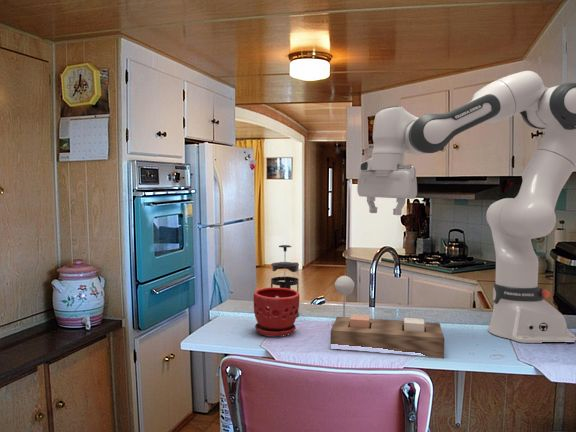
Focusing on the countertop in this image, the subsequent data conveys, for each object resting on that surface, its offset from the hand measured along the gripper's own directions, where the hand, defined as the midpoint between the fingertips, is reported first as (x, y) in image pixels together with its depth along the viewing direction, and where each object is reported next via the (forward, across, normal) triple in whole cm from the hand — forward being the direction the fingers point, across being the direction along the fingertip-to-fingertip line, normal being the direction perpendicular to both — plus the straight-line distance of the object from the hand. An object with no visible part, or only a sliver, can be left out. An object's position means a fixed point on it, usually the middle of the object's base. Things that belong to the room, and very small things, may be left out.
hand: (384, 214), depth 140 cm
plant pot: (+36, +16, +24) cm, 46 cm away
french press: (+35, +32, +11) cm, 49 cm away
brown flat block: (+34, -9, +6) cm, 36 cm away
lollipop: (+35, +12, +2) cm, 37 cm away
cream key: (+31, -14, +1) cm, 34 cm away
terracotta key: (+31, -4, +11) cm, 33 cm away
